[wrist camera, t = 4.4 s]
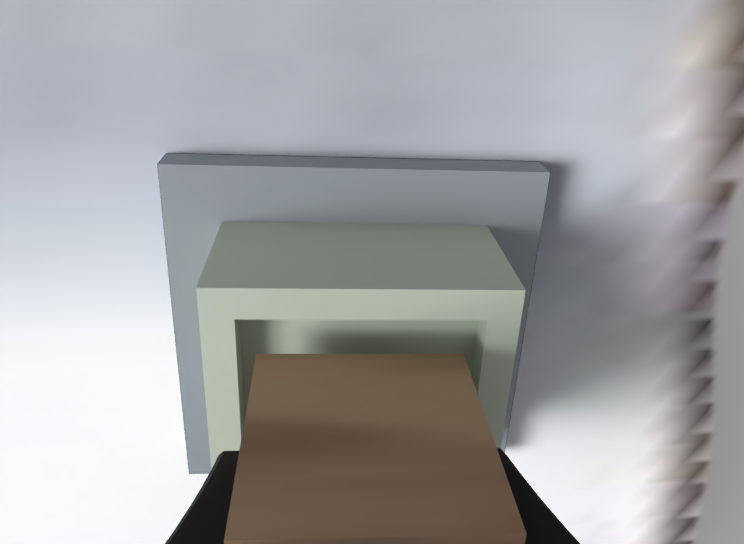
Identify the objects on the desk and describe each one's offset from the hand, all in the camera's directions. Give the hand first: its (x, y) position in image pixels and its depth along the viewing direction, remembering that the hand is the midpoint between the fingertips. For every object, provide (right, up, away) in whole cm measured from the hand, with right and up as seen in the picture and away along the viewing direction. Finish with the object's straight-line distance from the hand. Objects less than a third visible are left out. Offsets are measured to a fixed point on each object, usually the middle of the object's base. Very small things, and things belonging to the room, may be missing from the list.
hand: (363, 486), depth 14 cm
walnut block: (0, +1, +2) cm, 2 cm away
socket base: (0, +3, +6) cm, 7 cm away
